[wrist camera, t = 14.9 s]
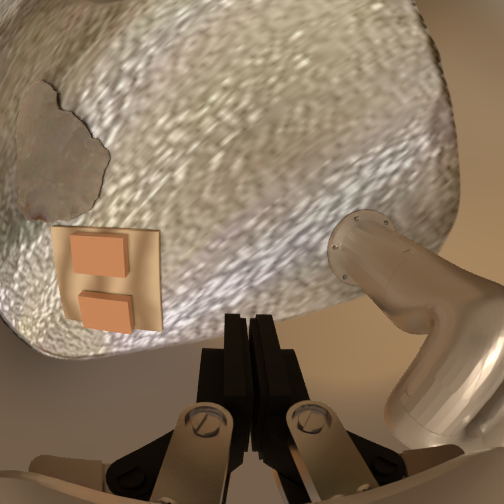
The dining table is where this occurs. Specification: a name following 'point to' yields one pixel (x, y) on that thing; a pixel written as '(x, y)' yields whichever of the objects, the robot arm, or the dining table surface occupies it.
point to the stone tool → (55, 159)
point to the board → (135, 284)
